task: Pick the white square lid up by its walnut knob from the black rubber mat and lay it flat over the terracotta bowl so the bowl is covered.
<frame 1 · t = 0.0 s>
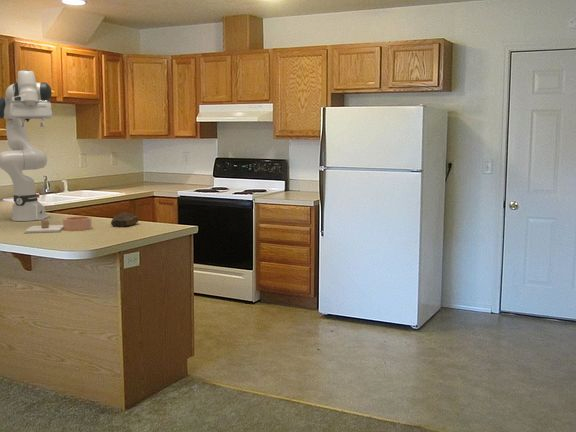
hand: (32, 126, 324), 52 cm above the worktop, tool tilted 20°, fingers open, 8 cm apart
white square lid: (45, 229, 324), point 1 cm above the worktop, touching mat
bowl: (77, 229, 327), on the worktop
stone: (125, 225, 341), on the worktop
mat: (45, 231, 324), on the worktop
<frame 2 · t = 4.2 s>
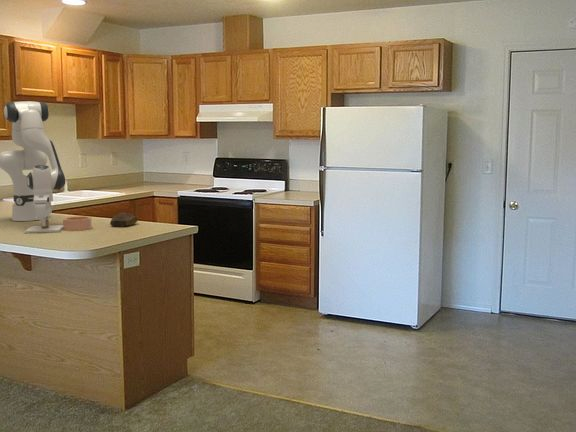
hand: (45, 225, 324), 3 cm above the worktop, tool pointing down, fingers closed on white square lid, 3 cm apart
white square lid: (45, 229, 324), point 1 cm above the worktop, touching gripper, mat
everything else where it was.
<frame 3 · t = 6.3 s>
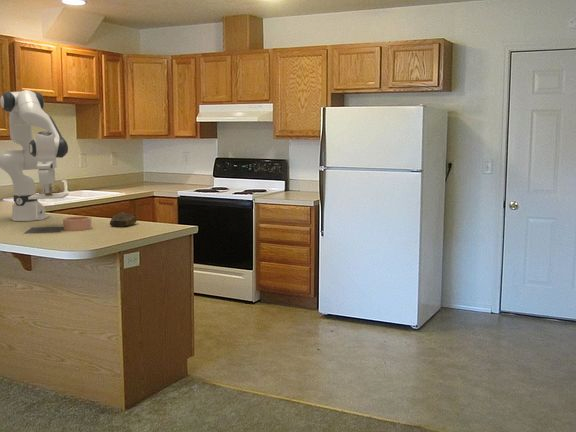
hand: (48, 192, 322), 19 cm above the worktop, tool pointing down, fingers closed on white square lid, 3 cm apart
white square lid: (48, 197, 322), point 17 cm above the worktop, touching gripper
everything else where it was.
when the fingers open (9 cm above the worktop, at t = 8.4 s): white square lid drops 1 cm, resting on bowl.
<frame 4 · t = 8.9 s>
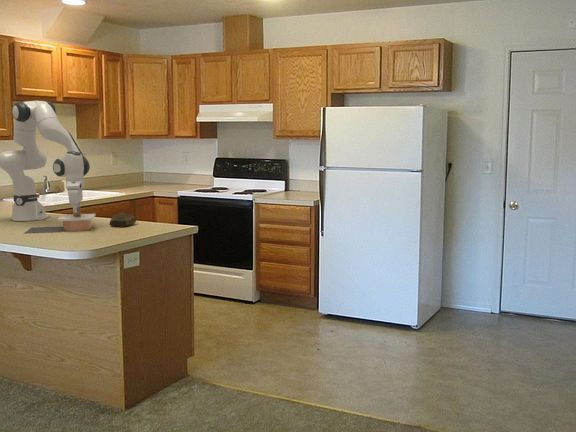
hand: (76, 211, 325), 9 cm above the worktop, tool pointing down, fingers open, 8 cm apart
white square lid: (77, 218, 326), point 6 cm above the worktop, touching bowl
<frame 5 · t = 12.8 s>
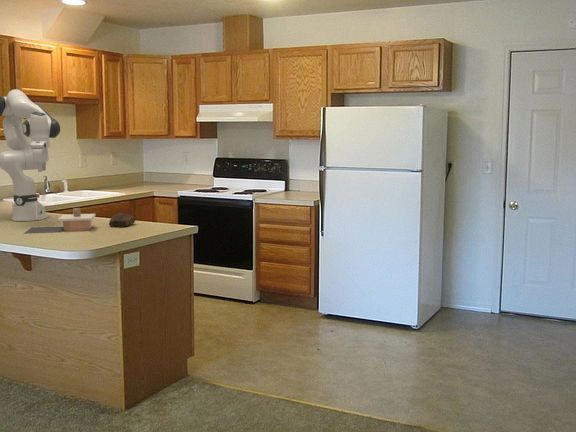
hand: (42, 171, 334), 29 cm above the worktop, tool pointing down, fingers open, 8 cm apart
at the end: white square lid 0.1 cm off-centre on the bowl, point 6.0 cm above the bowl's base; white square lid tilted 0°; the gripper is holding nothing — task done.
